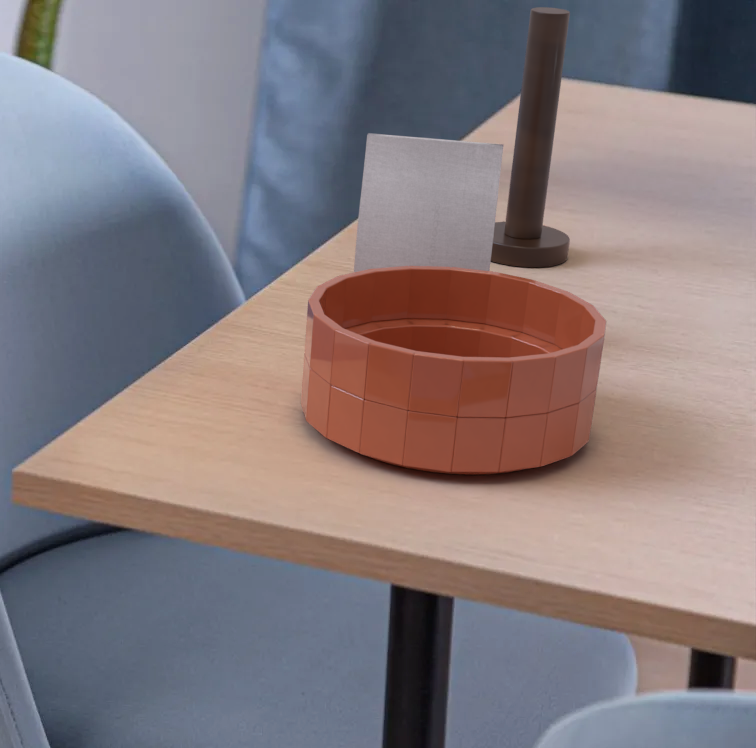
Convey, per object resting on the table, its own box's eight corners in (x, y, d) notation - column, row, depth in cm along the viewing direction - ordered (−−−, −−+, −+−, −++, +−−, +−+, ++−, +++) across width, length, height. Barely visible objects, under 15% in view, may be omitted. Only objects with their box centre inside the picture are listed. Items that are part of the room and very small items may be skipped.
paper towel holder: (535, 237, 109) (565, 1, 103) (585, 264, 105) (620, 18, 98) (456, 243, 107) (482, 2, 101) (504, 270, 102) (534, 20, 96)
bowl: (494, 363, 88) (507, 257, 86) (646, 464, 77) (665, 345, 75) (256, 389, 83) (263, 277, 81) (382, 499, 72) (394, 373, 70)
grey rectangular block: (480, 348, 90) (502, 154, 86) (348, 336, 91) (364, 142, 86) (481, 325, 93) (503, 137, 89) (354, 313, 94) (370, 126, 90)
